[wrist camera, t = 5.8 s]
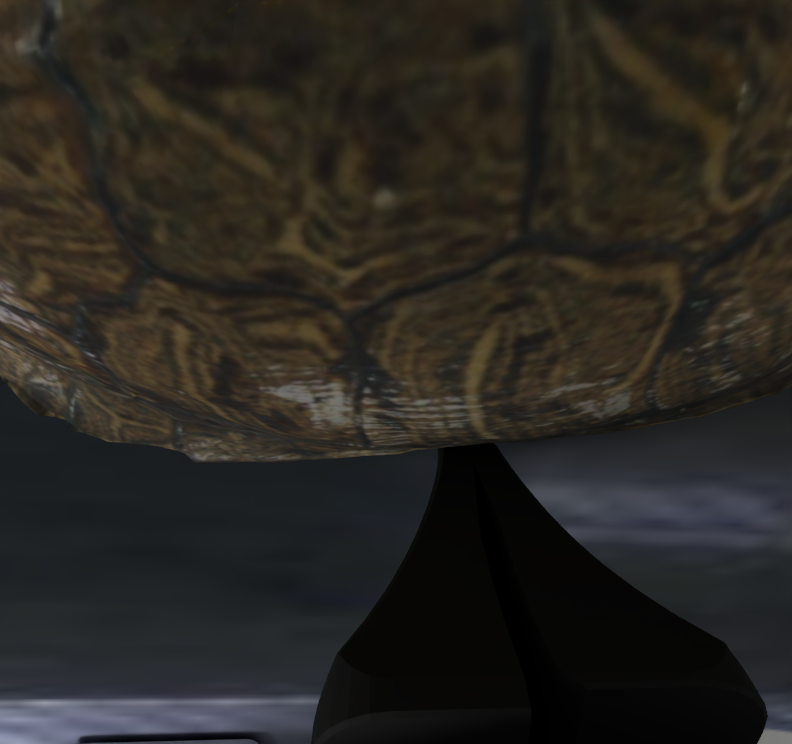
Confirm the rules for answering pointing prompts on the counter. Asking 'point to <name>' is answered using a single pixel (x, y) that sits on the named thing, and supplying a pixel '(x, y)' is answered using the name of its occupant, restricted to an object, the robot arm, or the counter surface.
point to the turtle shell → (392, 218)
